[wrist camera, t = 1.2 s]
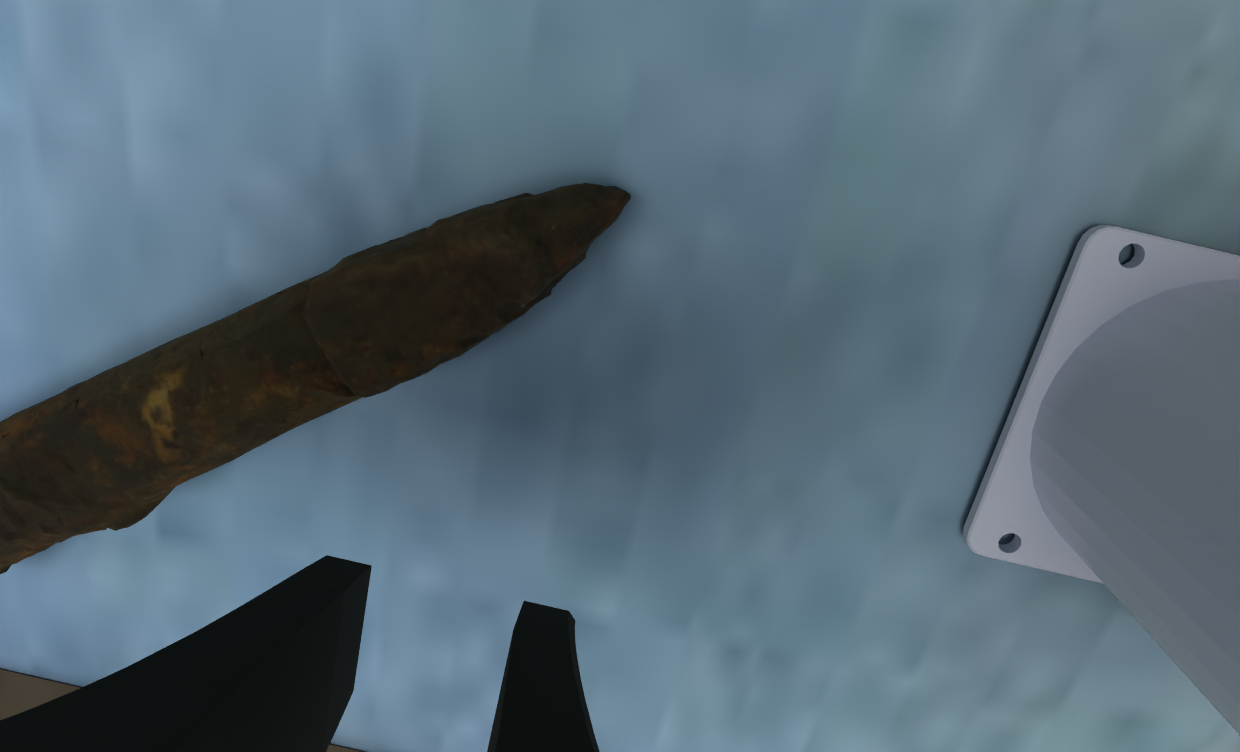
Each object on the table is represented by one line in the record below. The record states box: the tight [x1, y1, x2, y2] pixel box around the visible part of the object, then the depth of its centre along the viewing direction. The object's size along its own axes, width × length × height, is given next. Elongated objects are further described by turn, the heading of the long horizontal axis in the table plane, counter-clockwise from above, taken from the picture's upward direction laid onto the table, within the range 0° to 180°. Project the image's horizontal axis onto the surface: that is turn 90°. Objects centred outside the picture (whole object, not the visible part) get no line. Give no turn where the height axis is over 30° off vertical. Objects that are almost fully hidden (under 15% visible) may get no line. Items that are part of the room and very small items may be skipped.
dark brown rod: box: [0, 183, 631, 574], centre depth 18 cm, size 19×4×5 cm, turn 113°
